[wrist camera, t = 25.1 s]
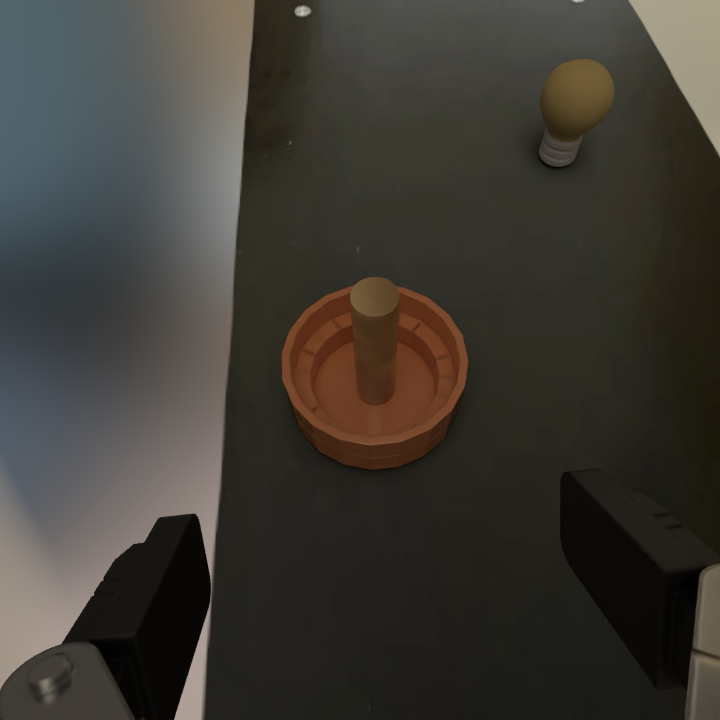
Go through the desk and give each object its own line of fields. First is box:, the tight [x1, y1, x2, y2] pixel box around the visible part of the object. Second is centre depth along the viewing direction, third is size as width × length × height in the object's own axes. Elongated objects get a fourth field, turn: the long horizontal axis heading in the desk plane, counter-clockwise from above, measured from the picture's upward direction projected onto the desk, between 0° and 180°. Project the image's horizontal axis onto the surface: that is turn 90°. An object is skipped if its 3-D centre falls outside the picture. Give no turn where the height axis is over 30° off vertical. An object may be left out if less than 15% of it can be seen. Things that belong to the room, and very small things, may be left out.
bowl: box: [282, 286, 468, 470], centre depth 41 cm, size 13×13×6 cm
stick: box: [350, 277, 400, 405], centre depth 37 cm, size 3×3×12 cm
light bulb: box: [539, 59, 614, 167], centre depth 52 cm, size 6×6×10 cm
